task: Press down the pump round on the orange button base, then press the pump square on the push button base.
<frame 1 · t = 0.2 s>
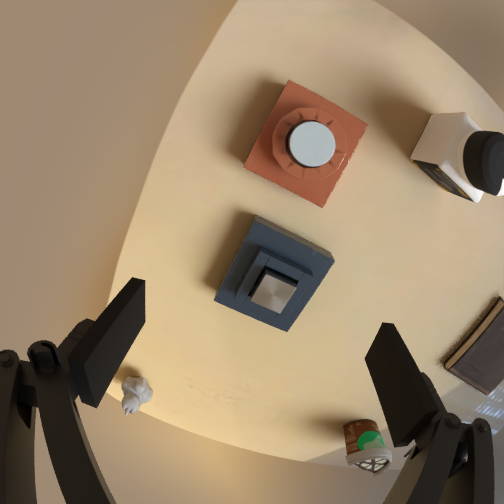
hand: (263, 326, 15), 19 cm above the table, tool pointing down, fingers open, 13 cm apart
pump square: (273, 290, 31), point 4 cm above the table, slide at 0.1 cm
food container: (366, 425, 47), on the table
push button base: (272, 272, 35), on the table
medicine bottle: (439, 152, 29), on the table
hardcover book: (491, 350, 40), on the table
pump round: (311, 143, 24), point 6 cm above the table, slide at 0.1 cm
orange button base: (303, 143, 29), on the table
white lumpy figurine: (141, 379, 44), on the table
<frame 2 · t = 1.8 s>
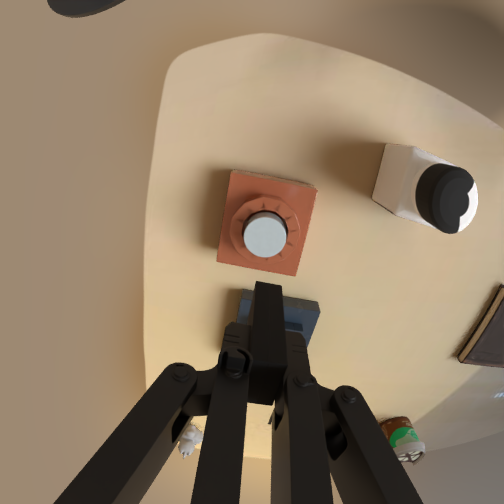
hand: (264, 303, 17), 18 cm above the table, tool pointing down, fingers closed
food container: (399, 421, 49), on the table
push button base: (271, 328, 39), on the table
medicine bottle: (402, 179, 31), on the table
pump round: (265, 234, 28), point 6 cm above the table, slide at 0.1 cm
orange button base: (265, 218, 34), on the table
white lumpy figurine: (191, 425, 50), on the table
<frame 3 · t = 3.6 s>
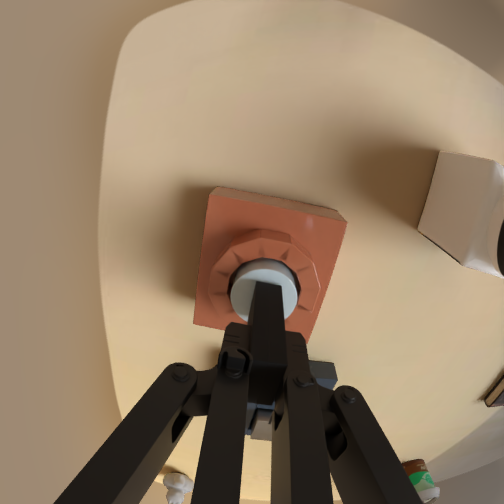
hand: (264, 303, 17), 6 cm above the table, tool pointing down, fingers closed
pump square: (272, 425, 24), point 4 cm above the table, slide at 0.1 cm
food container: (413, 463, 38), on the table
push button base: (272, 392, 28), on the table
medicine bottle: (456, 201, 20), on the table
pump round: (264, 290, 18), point 5 cm above the table, slide at -0.7 cm, touching gripper
orange button base: (264, 259, 23), on the table
white lumpy figurine: (180, 472, 39), on the table
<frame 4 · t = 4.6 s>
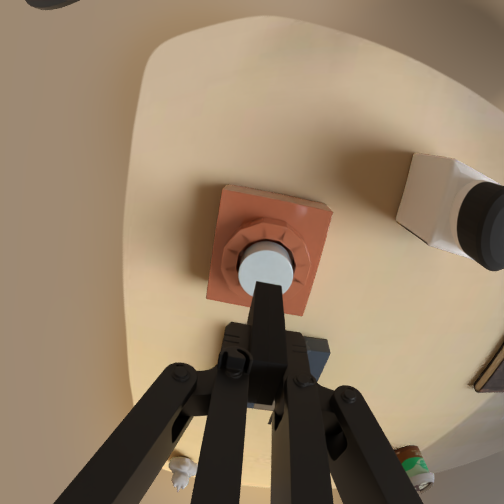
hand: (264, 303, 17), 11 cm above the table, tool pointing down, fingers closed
pump square: (273, 395, 29), point 4 cm above the table, slide at 0.1 cm
food container: (407, 449, 41), on the table
push button base: (273, 368, 33), on the table
medicine bottle: (430, 196, 25), on the table
pump round: (265, 270, 22), point 6 cm above the table, slide at 0.1 cm
orange button base: (266, 245, 27), on the table
white lumpy figurine: (185, 456, 43), on the table
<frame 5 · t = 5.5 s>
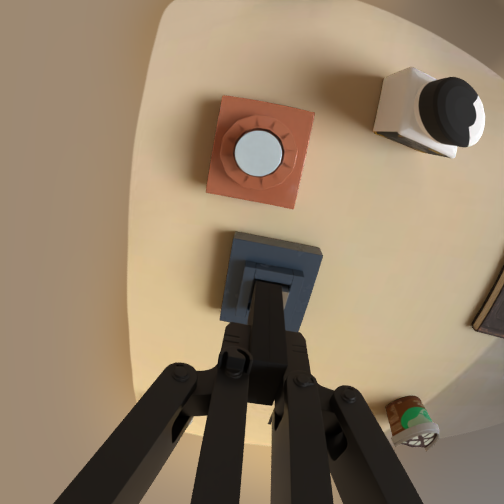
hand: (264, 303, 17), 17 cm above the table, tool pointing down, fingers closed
pump square: (268, 300, 32), point 4 cm above the table, slide at 0.1 cm
food container: (409, 401, 45), on the table
push button base: (268, 280, 36), on the table
medicine bottle: (403, 115, 27), on the table
pump round: (258, 152, 25), point 6 cm above the table, slide at 0.1 cm
orange button base: (259, 150, 30), on the table
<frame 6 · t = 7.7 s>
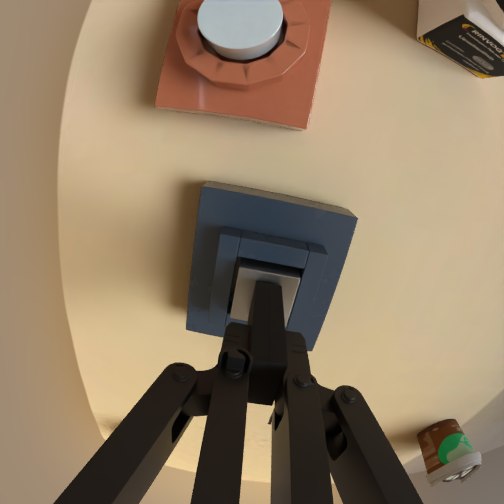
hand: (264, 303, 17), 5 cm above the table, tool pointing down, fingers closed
pump square: (264, 292, 18), point 4 cm above the table, slide at -0.4 cm, touching gripper
food container: (445, 425, 31), on the table
push button base: (264, 265, 22), on the table
medicine bottle: (451, 28, 13), on the table
pump round: (241, 21, 11), point 6 cm above the table, slide at 0.1 cm
orange button base: (248, 51, 16), on the table
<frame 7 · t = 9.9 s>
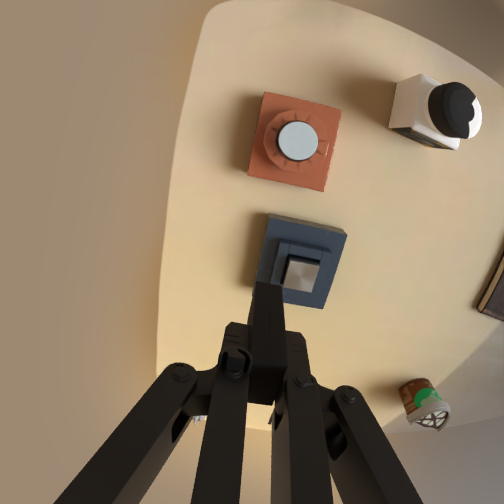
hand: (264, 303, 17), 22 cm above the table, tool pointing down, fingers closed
pump square: (300, 273, 35), point 4 cm above the table, slide at 0.1 cm
food container: (420, 384, 48), on the table
push button base: (297, 259, 39), on the table
medicine bottle: (413, 115, 31), on the table
pump round: (297, 140, 28), point 6 cm above the table, slide at 0.1 cm
orange button base: (292, 141, 34), on the table
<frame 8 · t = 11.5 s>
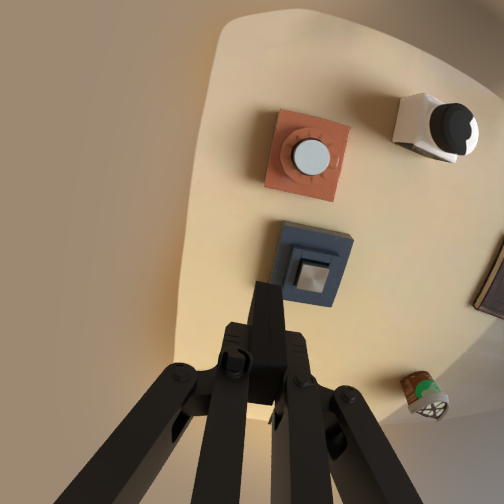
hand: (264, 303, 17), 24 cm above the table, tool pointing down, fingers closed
pump square: (311, 276, 38), point 4 cm above the table, slide at 0.1 cm
food container: (420, 377, 51), on the table
push button base: (307, 262, 42), on the table
medicine bottle: (415, 128, 34), on the table
pump round: (310, 156, 31), point 6 cm above the table, slide at 0.1 cm
orange button base: (304, 154, 37), on the table
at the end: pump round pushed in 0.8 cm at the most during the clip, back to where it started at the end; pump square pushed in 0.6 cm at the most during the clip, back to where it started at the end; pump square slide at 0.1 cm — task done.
